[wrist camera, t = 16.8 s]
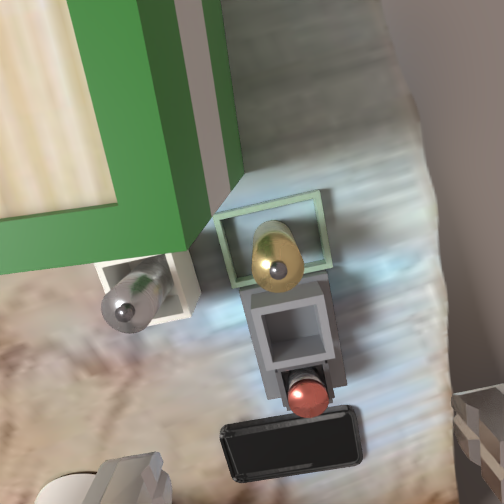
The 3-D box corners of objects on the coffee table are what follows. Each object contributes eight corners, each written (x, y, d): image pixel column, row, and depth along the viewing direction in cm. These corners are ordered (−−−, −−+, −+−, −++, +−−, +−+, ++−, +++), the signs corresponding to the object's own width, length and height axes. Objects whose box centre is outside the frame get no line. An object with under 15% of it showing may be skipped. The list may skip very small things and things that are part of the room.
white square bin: (201, 292, 32) (191, 317, 27) (140, 305, 32) (120, 331, 27) (183, 231, 30) (168, 246, 25) (119, 246, 30) (93, 263, 26)
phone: (217, 431, 35) (354, 408, 34) (218, 423, 36) (352, 400, 35) (234, 485, 38) (364, 465, 36) (234, 476, 39) (361, 456, 37)
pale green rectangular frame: (330, 263, 30) (332, 267, 29) (232, 283, 31) (232, 288, 30) (317, 189, 29) (319, 191, 27) (214, 213, 29) (212, 215, 28)
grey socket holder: (342, 372, 34) (356, 408, 29) (267, 386, 34) (268, 423, 30) (322, 265, 31) (335, 286, 26) (240, 283, 31) (237, 306, 26)
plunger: (324, 387, 31) (331, 414, 28) (289, 394, 31) (292, 421, 28) (318, 357, 30) (325, 381, 27) (282, 364, 30) (285, 388, 27)
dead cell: (183, 285, 31) (156, 332, 23) (147, 292, 31) (107, 342, 23) (172, 249, 30) (139, 285, 22) (135, 257, 30) (89, 296, 22)
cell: (298, 248, 30) (314, 283, 22) (263, 264, 31) (265, 304, 22) (282, 213, 29) (291, 236, 21) (246, 230, 30) (242, 259, 21)
